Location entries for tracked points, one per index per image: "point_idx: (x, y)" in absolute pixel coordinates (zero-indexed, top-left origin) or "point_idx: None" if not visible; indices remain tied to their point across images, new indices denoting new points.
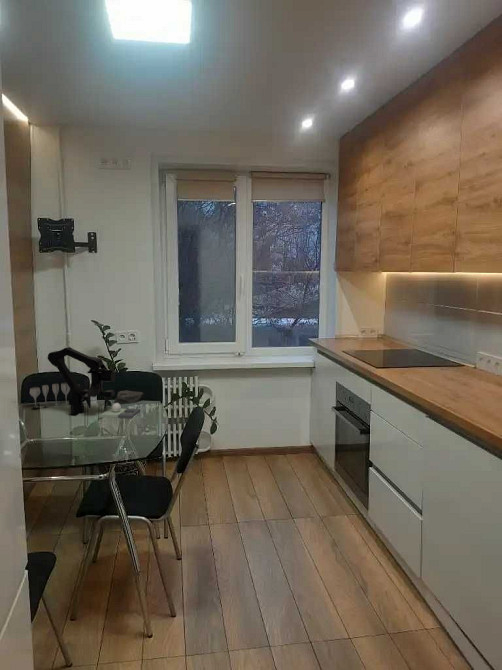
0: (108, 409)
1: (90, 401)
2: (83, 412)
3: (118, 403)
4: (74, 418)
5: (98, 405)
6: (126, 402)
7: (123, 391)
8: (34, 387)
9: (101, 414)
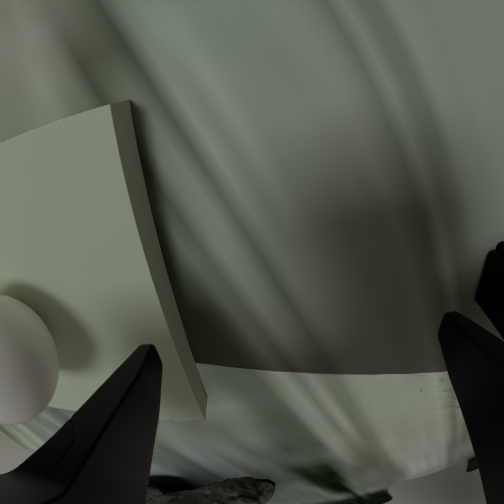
0: (188, 388)
1: (471, 429)
2: (484, 274)
3: None
4: (499, 9)
5: (385, 450)
6: (176, 493)
7: None
8: None
9: (96, 125)
